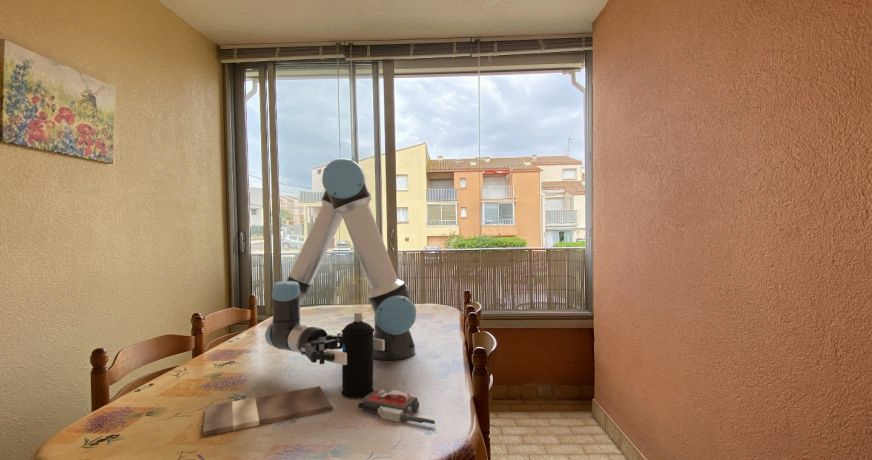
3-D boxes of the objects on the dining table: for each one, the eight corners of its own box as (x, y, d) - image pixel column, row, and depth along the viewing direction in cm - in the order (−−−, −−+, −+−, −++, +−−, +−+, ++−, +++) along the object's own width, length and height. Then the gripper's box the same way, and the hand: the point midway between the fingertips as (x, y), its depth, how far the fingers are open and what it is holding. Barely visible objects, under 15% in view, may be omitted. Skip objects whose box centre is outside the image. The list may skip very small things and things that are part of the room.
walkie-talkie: (351, 415, 95) (432, 431, 86) (351, 395, 95) (432, 410, 86) (373, 400, 103) (448, 414, 94) (372, 382, 103) (448, 394, 94)
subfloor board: (319, 389, 109) (319, 386, 109) (332, 410, 97) (332, 405, 97) (205, 410, 97) (205, 406, 97) (203, 436, 85) (202, 431, 85)
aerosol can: (379, 389, 109) (380, 311, 109) (363, 400, 101) (364, 317, 102) (352, 385, 112) (352, 310, 112) (334, 396, 104) (335, 315, 105)
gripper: (342, 343, 127) (397, 354, 115) (269, 366, 106) (327, 382, 94) (342, 318, 127) (397, 326, 115) (269, 336, 106) (327, 349, 94)
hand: (365, 351), depth 105 cm, fingers open, 13 cm apart
